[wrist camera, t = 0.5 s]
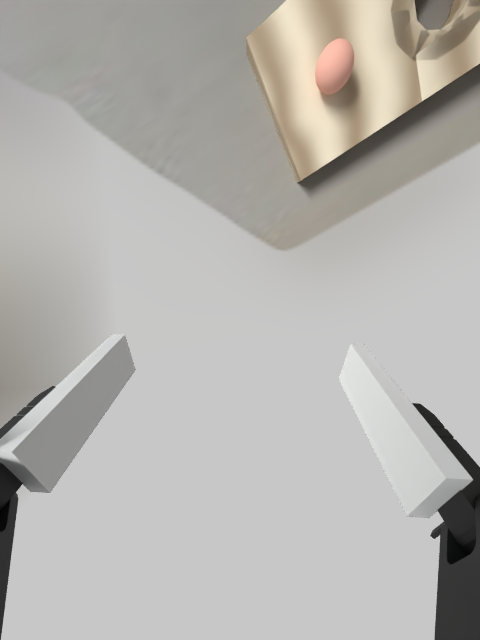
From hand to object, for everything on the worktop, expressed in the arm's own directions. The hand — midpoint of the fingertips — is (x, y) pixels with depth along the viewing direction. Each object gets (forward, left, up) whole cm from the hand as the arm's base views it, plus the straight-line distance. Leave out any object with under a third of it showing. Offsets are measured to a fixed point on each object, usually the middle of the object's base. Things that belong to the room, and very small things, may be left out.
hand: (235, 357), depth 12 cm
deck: (-26, +7, -25) cm, 36 cm away
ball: (-22, +3, -20) cm, 30 cm away
